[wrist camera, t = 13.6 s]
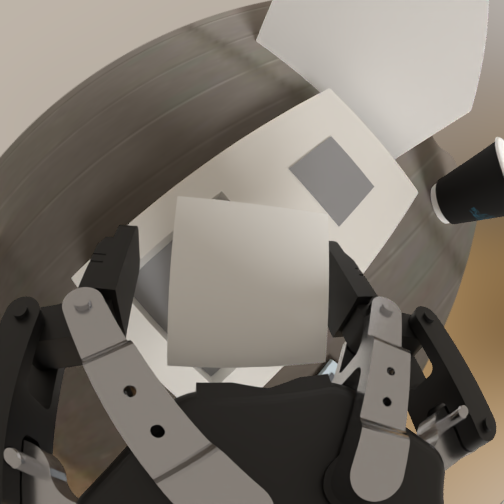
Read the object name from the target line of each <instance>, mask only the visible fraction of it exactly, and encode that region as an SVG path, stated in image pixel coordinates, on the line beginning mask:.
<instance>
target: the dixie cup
mask: <svg viewBox="0 0 504 504" xmlns="http://www.w3.org/2000/svg"><path fill="white" fill-rule="evenodd" d="M431 202H432V206H433V209H434V211H435V213H436V215H437V217H438V218H439V219H440V220H441V221H442V222H443V223H451V224H458V223H465V222H471V221H477V220H483V219H490V218H496V217H502V216H504V140H503V139H501V138H500V137H496V139H495V142H494V143H492V144H491V145H490V146H488V147H487V148H485V149H484V150H483V151H481V152H480V153H478V154H477V155H475V156H474V157H472V158H471V159H469V160H468V161H466V162H465V163H463V164H462V165H460V166H459V167H457V168H456V169H454V170H453V171H451V172H450V173H448V174H447V175H445V176H444V177H442V178H441V179H439V180H438V181H437V183H436V184H435V185H434V186H433V187H432V188H431Z"/></svg>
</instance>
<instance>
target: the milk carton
mask: <svg viewBox="0 0 504 504" xmlns="http://www.w3.org/2000/svg"><path fill="white" fill-rule="evenodd" d="M488 12H489V0H272V3H271V5H270V7H269V10H268V12H267V14H266V17H265V19H264V22H263V24H262V26H261V29H260V31H259V34H258V37H257V39H256V42H258V43H259V44H261V45H262V46H263V47H265V48H266V49H268V50H269V51H270V52H272V53H273V54H274V55H276V56H277V57H278V58H280V59H281V60H282V61H284V62H285V63H286V64H287V65H289V66H290V67H291V68H292V69H294V70H295V71H296V72H297V73H298V74H300V75H301V76H302V77H303V78H304V79H305V80H307V81H308V82H309V83H310V84H311V85H312V86H314V87H315V88H316V89H317V90H318V91H319V92H320V93H321V92H323V91H325V90H327V89H329V88H330V89H331V90H332V91H333V92H334V93H335V94H336V95H337V96H338V97H339V98H340V99H341V100H342V101H343V102H344V103H345V104H346V105H347V106H348V107H349V108H350V109H351V110H352V111H353V112H354V113H355V114H356V115H357V116H358V117H359V118H360V119H361V121H362V122H363V123H364V124H365V125H366V126H367V127H368V128H369V129H370V131H371V132H372V133H373V134H374V135H375V136H376V138H377V139H378V140H379V141H380V142H381V143H382V145H383V146H384V147H385V148H386V150H387V151H388V152H389V153H390V155H391V156H392V157H393V158H394V159H396V158H397V157H399V156H401V155H402V154H404V153H405V152H407V151H408V150H410V149H412V148H413V147H415V146H416V145H418V144H420V143H421V142H423V141H424V140H426V139H427V138H429V137H431V136H432V135H434V134H435V133H437V132H438V131H440V130H442V129H443V128H445V127H446V126H448V125H449V124H451V123H453V122H454V121H456V120H457V119H459V118H460V117H462V116H464V115H465V114H467V113H468V112H470V111H471V109H472V105H473V102H474V98H475V94H476V90H477V86H478V82H479V77H480V72H481V67H482V62H483V56H484V50H485V43H486V34H487V26H488Z"/></svg>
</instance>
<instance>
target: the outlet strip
mask: <svg viewBox="0 0 504 504" xmlns="http://www.w3.org/2000/svg"><path fill="white" fill-rule="evenodd" d="M417 194H418V191H417V190H416V188H415V187H414V185H413V184H412V183H411V181H410V180H409V178H408V177H407V176H406V174H405V173H404V171H403V170H402V169H401V167H400V166H399V165H398V163H397V162H396V161H395V160H394V158H393V157H392V156H391V155H390V153H389V152H388V151H387V150H386V148H385V147H384V146H383V145H382V143H381V142H380V141H379V140H378V139H377V138H376V136H375V135H374V134H373V133H372V132H371V131H370V129H369V128H368V127H367V126H366V125H365V124H364V123H363V122H362V121H361V119H360V118H359V117H358V116H357V115H356V114H355V113H354V112H353V111H352V110H351V109H350V108H349V107H348V106H347V105H346V104H345V103H344V102H343V101H342V100H341V99H340V98H339V97H338V96H337V95H336V94H335V93H334V92H333V91H332V90H331V89H330V88H329V89H327V90H325V91H323V92H321V93H319V94H317V95H315V96H313V97H311V98H310V99H308V100H306V101H304V102H302V103H300V104H299V105H297V106H295V107H293V108H292V109H290V110H288V111H286V112H285V113H283V114H281V115H279V116H278V117H276V118H274V119H273V120H271V121H269V122H268V123H266V124H264V125H263V126H261V127H259V128H258V129H256V130H255V131H253V132H251V133H250V134H248V135H247V136H245V137H244V138H242V139H241V140H239V141H237V142H236V143H234V144H233V145H231V146H230V147H228V148H227V149H225V150H224V151H223V152H221V153H220V154H218V155H217V156H215V157H214V158H212V159H211V160H210V161H208V162H207V163H205V164H204V165H203V166H201V167H200V168H198V169H197V170H196V171H194V172H193V173H192V174H190V175H189V176H187V177H186V178H185V179H183V180H182V181H181V182H180V183H178V184H177V185H176V186H174V187H173V188H172V189H170V190H169V191H168V192H167V193H165V194H164V195H163V196H162V197H160V198H159V199H158V200H157V201H155V202H154V203H153V204H152V205H150V206H149V207H148V208H147V209H146V210H144V211H143V212H142V213H141V214H140V215H138V216H137V217H136V218H135V219H134V220H133V221H131V222H130V223H129V224H128V225H131V226H138V230H139V251H140V269H139V275H138V279H137V284H136V288H135V293H134V297H133V302H132V307H131V312H130V318H129V323H128V329H127V335H126V339H127V340H128V341H129V340H131V341H132V342H133V343H134V344H135V346H136V347H137V349H138V350H139V352H140V353H141V355H142V356H143V358H144V359H145V361H146V362H147V364H148V365H149V367H150V368H151V370H152V371H153V372H154V374H155V375H156V377H157V378H158V379H159V381H160V382H161V383H162V384H163V385H164V386H165V387H166V388H167V389H168V390H169V391H171V392H172V393H173V394H174V395H175V396H176V397H179V396H182V395H184V394H187V393H191V392H195V391H196V382H199V383H220V382H233V383H238V384H244V385H249V386H255V387H263V386H264V385H265V384H266V383H267V382H268V381H269V380H270V379H271V378H272V377H273V376H274V375H275V374H276V373H277V372H278V371H279V370H280V369H281V368H282V367H283V366H273V367H245V368H208V367H181V366H167V330H168V300H169V281H170V266H171V253H172V241H173V231H174V221H175V212H176V204H177V196H184V197H195V198H205V199H215V200H225V201H234V202H242V203H251V204H259V205H267V206H275V207H282V208H289V209H296V210H303V211H310V212H317V213H323V214H328V233H329V241H336V242H337V243H338V244H339V245H340V247H341V248H342V250H343V251H344V252H345V253H346V254H347V255H348V256H349V257H351V258H352V259H353V260H354V261H355V263H356V264H357V266H358V267H359V270H361V272H362V273H364V272H365V270H366V269H367V268H368V266H369V265H370V264H371V262H372V261H373V260H374V258H375V257H376V255H377V254H378V253H379V251H380V250H381V249H382V247H383V246H384V244H385V243H386V241H387V240H388V239H389V237H390V236H391V234H392V233H393V231H394V230H395V228H396V227H397V225H398V224H399V222H400V221H401V219H402V218H403V216H404V215H405V213H406V212H407V210H408V208H409V207H410V205H411V204H412V202H413V201H414V199H415V197H416V196H417ZM89 262H90V260H89V261H88V262H87V263H86V264H85V265H84V266H83V267H82V268H81V269H80V270H79V271H78V272H77V273H76V274H75V275H74V276H73V277H72V278H71V279H72V280H73V282H74V283H75V284H76V286H77V287H79V284H80V282H81V279H82V277H83V275H84V272H85V270H86V268H87V266H88V264H89Z"/></svg>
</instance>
